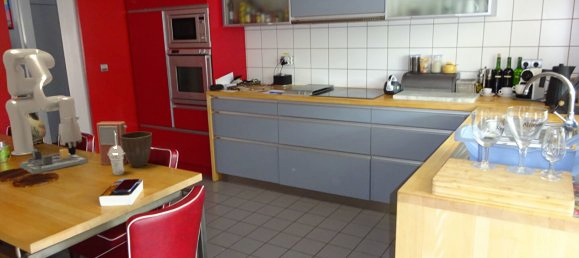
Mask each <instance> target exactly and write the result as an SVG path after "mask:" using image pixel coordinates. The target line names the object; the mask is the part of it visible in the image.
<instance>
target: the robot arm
mask: <svg viewBox="0 0 579 258" xmlns="http://www.w3.org/2000/svg"><path fill="white" fill-rule="evenodd" d="M2 62H3V65H4V69H5V72H6V83H7V92H8V93H9V95H10V96H12V97H15V98H10V99H8V100H7V101H6V103H5V111H6V112H7V115H8V119H9V123H10V130H11V137H12V138H11V139H12V142H13V143H12V144H13V149H14V150H13V151H11V152H10V153H11V155H13V156H25V155H26V156H27V155H31V154H32V155H33V153H32V151H37V150H38V149H37V148H35V147H34V144H33V140H32V133H31V126H30V121H29V119H28V118H27V117H26V116H25V115H24V114H28V113H34V112H36V113H38V112H39V111H40V110H42V111H43V112H47V113H49V112H54V111H59V119H60V120H59V121H60V123H58V141H59V145H60V146H65V147H67V149H68V153H69V154H71V155H75V154H77V150H76V148H77V145H78V144H80V143H82V142H83V140H82V131H81V127H80V123H79V122H78V120H80V117H79V116H77V113H76V112H77V111H76V105H75V98H74V97H72V96H65V95H54V96H53V95H52V96H46V95H45V93H44V91H43V87H45V86H46V85H48V84H50V83H51V81H52V80H53V75H52V74H51V72H50V70H49V69H52V68H54V67H55V65H56V61H55V59H54V57H53V55H52V54H50V53H49V52H47V51H45V50H44V51H43V50H41V49H38V48H11V49H8V50H6V51H4V53H3V55H2ZM23 65H25V66H26V68H27V69H28V71H29V73H30V75H31V77H25V76H26V75H25V70H24V68H23V67H22V66H23ZM18 96H19V97H18ZM20 96H21V97H20ZM22 96H23V97H22ZM24 96H25V97H24Z"/></svg>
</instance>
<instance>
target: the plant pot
mask: <svg viewBox="0 0 579 258" xmlns="http://www.w3.org/2000/svg"><path fill="white" fill-rule="evenodd" d="M152 136H153V133H152V132H149V131H133V132H128V133H127V132H126V134H123V135H121V136H120V137H121V141H122V145H123V148H124V150H125V151H126V156H127V158H128V163H129V164H130V166H131V167H132V166H133V167H132V168H142V167H141V166H143V167H145V166H144V165H146V164H147V165H148V162H149V158H150V155H151V154H150V153H151V148H152ZM147 165H146V166H147Z"/></svg>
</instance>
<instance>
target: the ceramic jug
mask: <svg viewBox="0 0 579 258" xmlns="http://www.w3.org/2000/svg"><path fill="white" fill-rule="evenodd" d="M36 113H37V112H34V113H28V114H24V115H25V116H26V117H27V118H28V119H29V121H30V126H31V133H32V140H33V145H38V144H37V143H40V144H41V143H43V139H44V138H45V137H46V135H47V129H46V125H45V123H44V122H43V120H42V119H41V118H40V117H39V115H37V114H36Z"/></svg>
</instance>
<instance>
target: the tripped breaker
mask: <svg viewBox="0 0 579 258" xmlns="http://www.w3.org/2000/svg"><path fill="white" fill-rule="evenodd" d="M58 150H59V153H60V157H58V159H62V158H67V157H71V156H69V155H68V153H69V149H68V148H60V149H58Z"/></svg>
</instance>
